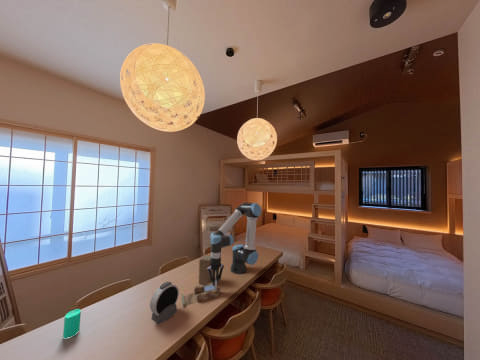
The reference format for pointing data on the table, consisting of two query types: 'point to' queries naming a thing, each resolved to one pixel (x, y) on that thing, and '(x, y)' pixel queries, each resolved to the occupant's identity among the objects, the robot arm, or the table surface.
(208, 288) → the block
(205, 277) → the wooden block
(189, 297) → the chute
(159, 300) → the alarm clock
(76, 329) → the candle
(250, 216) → the robot arm
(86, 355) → the table surface
